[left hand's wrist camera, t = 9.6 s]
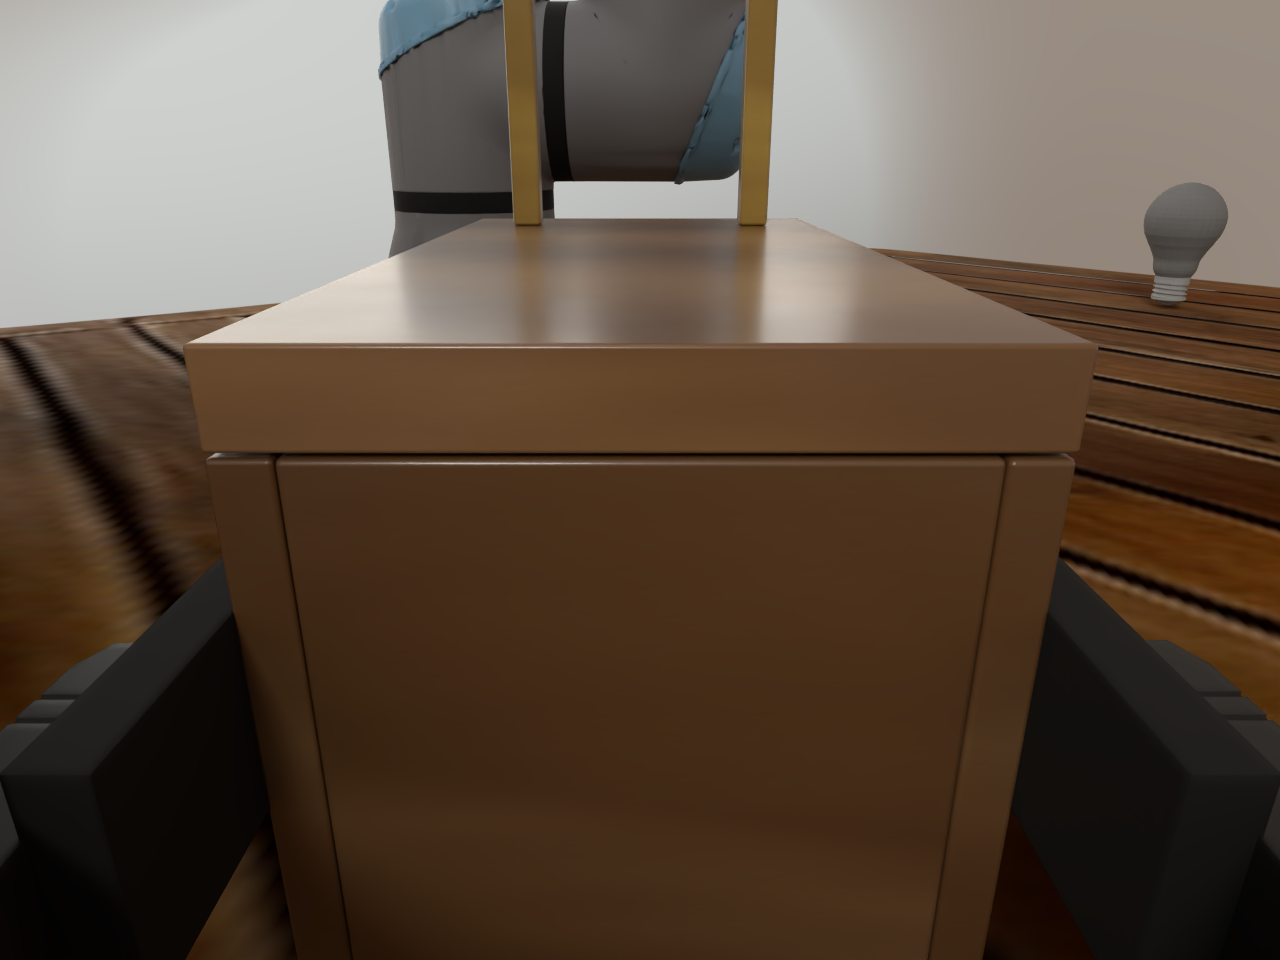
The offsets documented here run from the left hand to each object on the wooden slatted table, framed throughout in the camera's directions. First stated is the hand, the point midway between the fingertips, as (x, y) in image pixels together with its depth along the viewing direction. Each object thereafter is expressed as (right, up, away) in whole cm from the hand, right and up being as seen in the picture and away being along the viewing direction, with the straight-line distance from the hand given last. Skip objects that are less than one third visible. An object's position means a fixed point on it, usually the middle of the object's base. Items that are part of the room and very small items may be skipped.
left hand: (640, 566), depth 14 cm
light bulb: (+46, +16, +62) cm, 79 cm away
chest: (0, -5, +7) cm, 8 cm away
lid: (0, +5, +3) cm, 6 cm away
